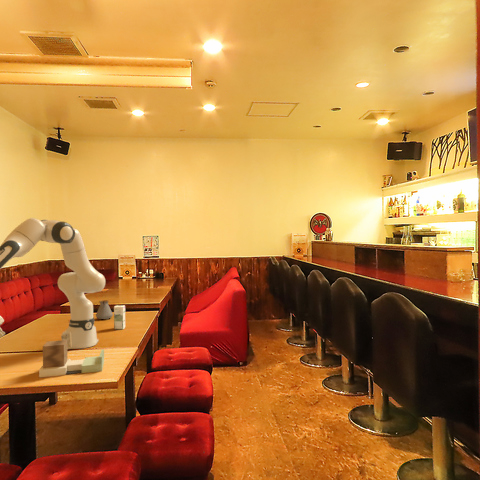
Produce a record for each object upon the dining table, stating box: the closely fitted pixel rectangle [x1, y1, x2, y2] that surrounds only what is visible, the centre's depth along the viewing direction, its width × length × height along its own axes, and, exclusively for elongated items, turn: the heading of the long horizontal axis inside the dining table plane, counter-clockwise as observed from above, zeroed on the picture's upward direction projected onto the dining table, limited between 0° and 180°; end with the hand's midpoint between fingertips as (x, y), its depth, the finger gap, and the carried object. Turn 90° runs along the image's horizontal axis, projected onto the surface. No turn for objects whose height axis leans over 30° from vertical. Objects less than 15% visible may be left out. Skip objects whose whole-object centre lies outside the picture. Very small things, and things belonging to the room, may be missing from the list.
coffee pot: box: [95, 299, 114, 320], centre depth 261 cm, size 21×12×15 cm, turn 18°
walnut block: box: [42, 339, 68, 368], centre depth 158 cm, size 8×8×9 cm
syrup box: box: [113, 304, 126, 330], centre depth 235 cm, size 6×6×14 cm
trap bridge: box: [38, 349, 105, 378], centre depth 159 cm, size 24×12×6 cm, turn 106°
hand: (2, 336), depth 152 cm, fingers closed
